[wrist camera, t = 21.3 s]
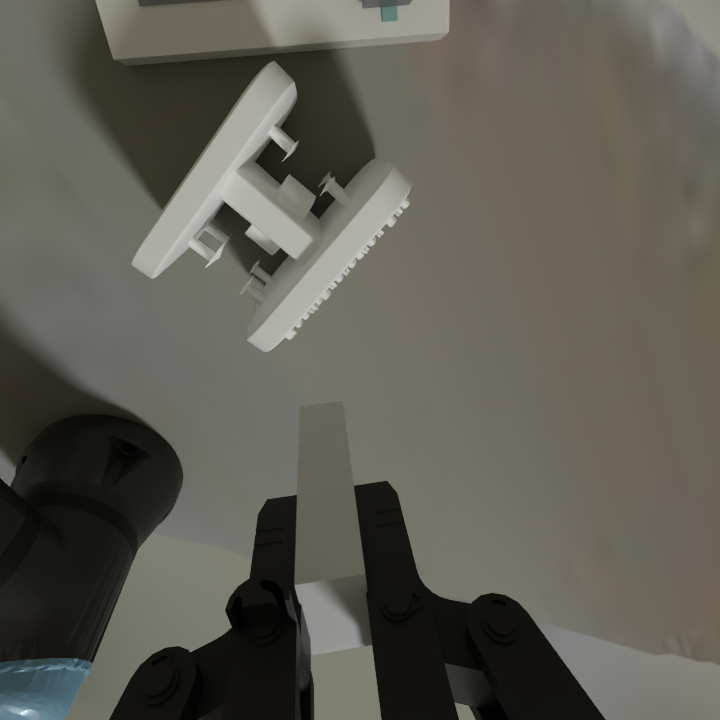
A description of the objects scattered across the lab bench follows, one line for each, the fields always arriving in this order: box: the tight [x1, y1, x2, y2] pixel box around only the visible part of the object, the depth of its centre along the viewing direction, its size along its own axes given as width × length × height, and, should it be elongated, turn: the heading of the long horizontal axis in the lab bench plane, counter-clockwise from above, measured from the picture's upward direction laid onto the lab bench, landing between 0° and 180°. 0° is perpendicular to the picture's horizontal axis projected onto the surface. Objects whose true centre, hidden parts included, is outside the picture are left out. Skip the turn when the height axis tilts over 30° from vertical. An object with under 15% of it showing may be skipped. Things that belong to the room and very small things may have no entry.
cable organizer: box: [131, 61, 412, 352], centre depth 29 cm, size 15×11×12 cm
